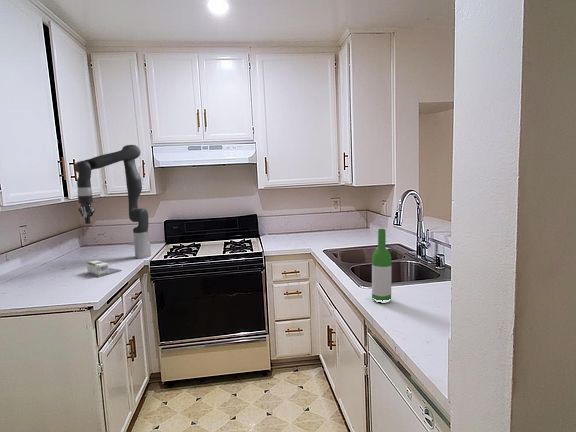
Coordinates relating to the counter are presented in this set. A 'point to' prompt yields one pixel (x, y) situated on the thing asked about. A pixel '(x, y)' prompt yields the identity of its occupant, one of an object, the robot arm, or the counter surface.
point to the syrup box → (97, 267)
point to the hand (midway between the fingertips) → (87, 223)
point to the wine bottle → (381, 269)
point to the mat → (104, 274)
